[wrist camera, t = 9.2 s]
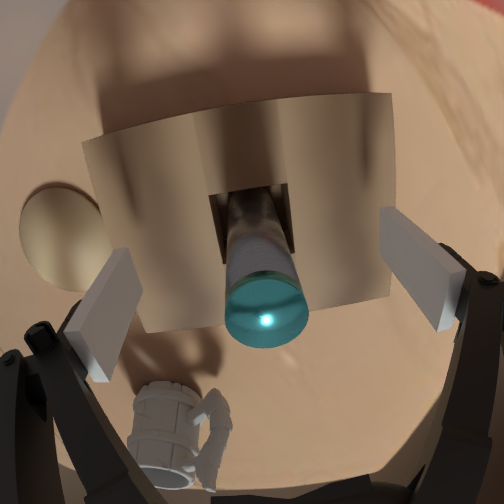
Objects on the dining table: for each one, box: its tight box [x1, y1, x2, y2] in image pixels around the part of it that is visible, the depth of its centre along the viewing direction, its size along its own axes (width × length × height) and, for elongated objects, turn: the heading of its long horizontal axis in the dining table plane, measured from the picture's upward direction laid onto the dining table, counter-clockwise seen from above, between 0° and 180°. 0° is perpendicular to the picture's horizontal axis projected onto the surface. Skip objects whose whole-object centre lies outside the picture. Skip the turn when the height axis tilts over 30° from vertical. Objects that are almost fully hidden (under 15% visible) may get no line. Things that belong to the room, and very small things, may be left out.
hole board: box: [82, 93, 396, 333], centre depth 20 cm, size 18×14×4 cm
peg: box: [225, 187, 309, 348], centre depth 17 cm, size 3×3×12 cm
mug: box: [127, 381, 233, 492], centre depth 25 cm, size 8×12×12 cm, turn 124°
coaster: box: [19, 187, 114, 292], centre depth 22 cm, size 9×9×1 cm
